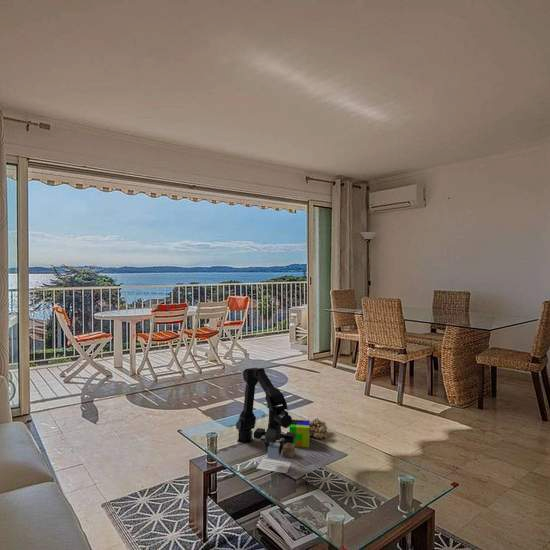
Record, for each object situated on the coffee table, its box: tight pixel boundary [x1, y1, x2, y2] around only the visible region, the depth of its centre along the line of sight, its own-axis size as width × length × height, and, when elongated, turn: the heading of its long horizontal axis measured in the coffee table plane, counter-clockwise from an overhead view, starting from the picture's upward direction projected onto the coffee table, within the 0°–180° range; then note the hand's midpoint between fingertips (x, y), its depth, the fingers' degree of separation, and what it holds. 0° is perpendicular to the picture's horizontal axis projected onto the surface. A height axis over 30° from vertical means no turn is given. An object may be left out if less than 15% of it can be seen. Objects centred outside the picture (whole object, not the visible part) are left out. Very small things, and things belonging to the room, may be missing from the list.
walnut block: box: [281, 443, 296, 459], centre depth 196 cm, size 5×5×5 cm
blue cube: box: [266, 442, 282, 460], centre depth 185 cm, size 5×5×5 cm
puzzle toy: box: [288, 419, 311, 448], centre depth 211 cm, size 10×10×10 cm
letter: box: [256, 458, 292, 474], centre depth 185 cm, size 14×10×1 cm
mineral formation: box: [309, 417, 328, 440], centre depth 221 cm, size 8×13×15 cm
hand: (274, 453), depth 185 cm, fingers closed on blue cube, 5 cm apart
